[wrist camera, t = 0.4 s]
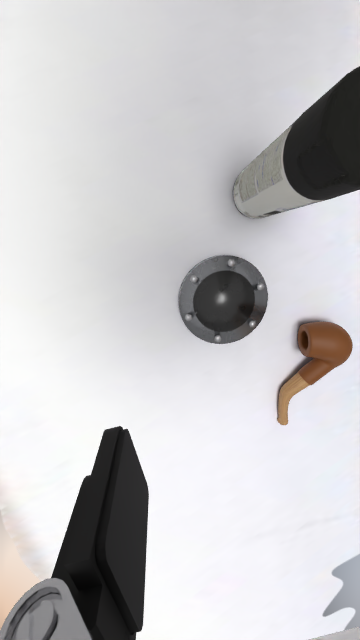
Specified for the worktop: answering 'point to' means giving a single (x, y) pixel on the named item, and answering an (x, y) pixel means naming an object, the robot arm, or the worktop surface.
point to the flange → (223, 299)
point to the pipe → (315, 359)
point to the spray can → (307, 157)
